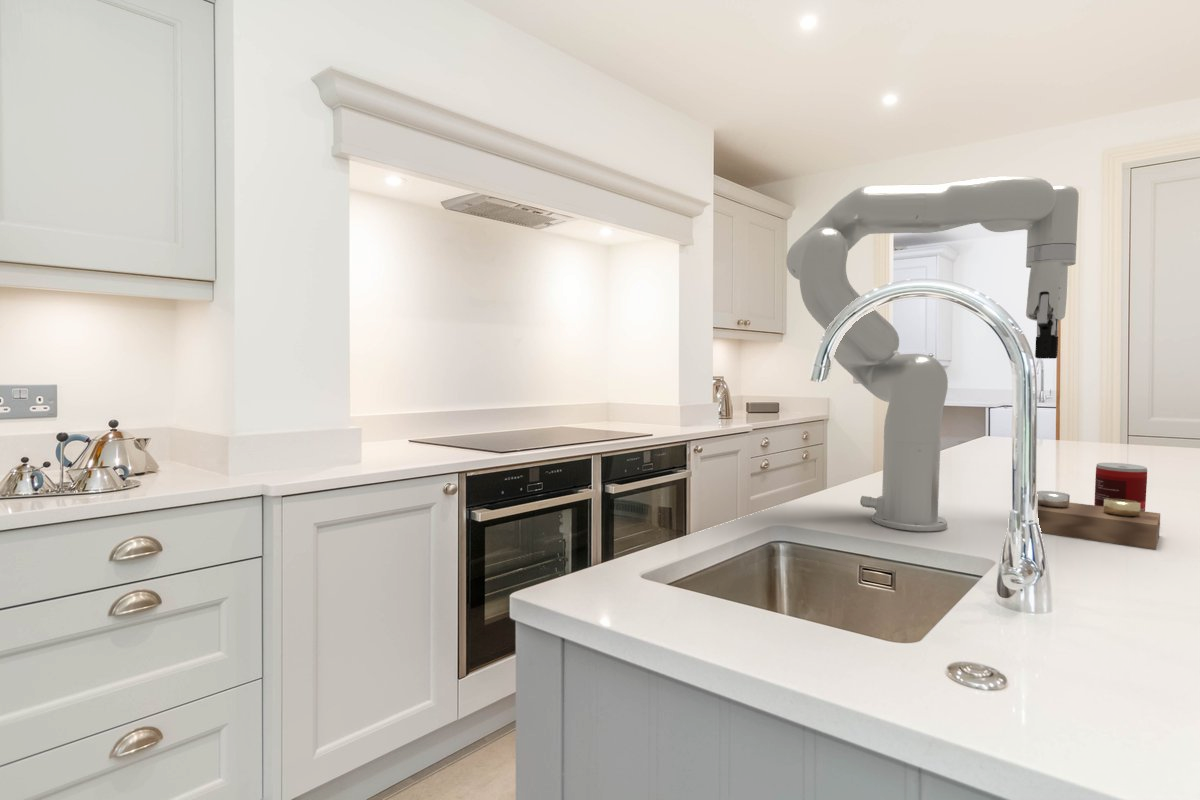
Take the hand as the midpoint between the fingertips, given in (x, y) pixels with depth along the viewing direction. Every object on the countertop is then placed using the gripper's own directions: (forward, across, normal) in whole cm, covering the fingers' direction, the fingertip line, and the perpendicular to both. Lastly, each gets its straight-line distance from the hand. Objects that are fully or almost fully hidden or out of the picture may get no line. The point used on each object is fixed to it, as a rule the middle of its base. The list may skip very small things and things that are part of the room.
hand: (1046, 358), depth 122 cm
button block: (+31, 0, +7) cm, 32 cm away
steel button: (+31, 0, +2) cm, 31 cm away
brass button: (+31, 0, +12) cm, 33 cm away
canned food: (+31, -14, +11) cm, 36 cm away
